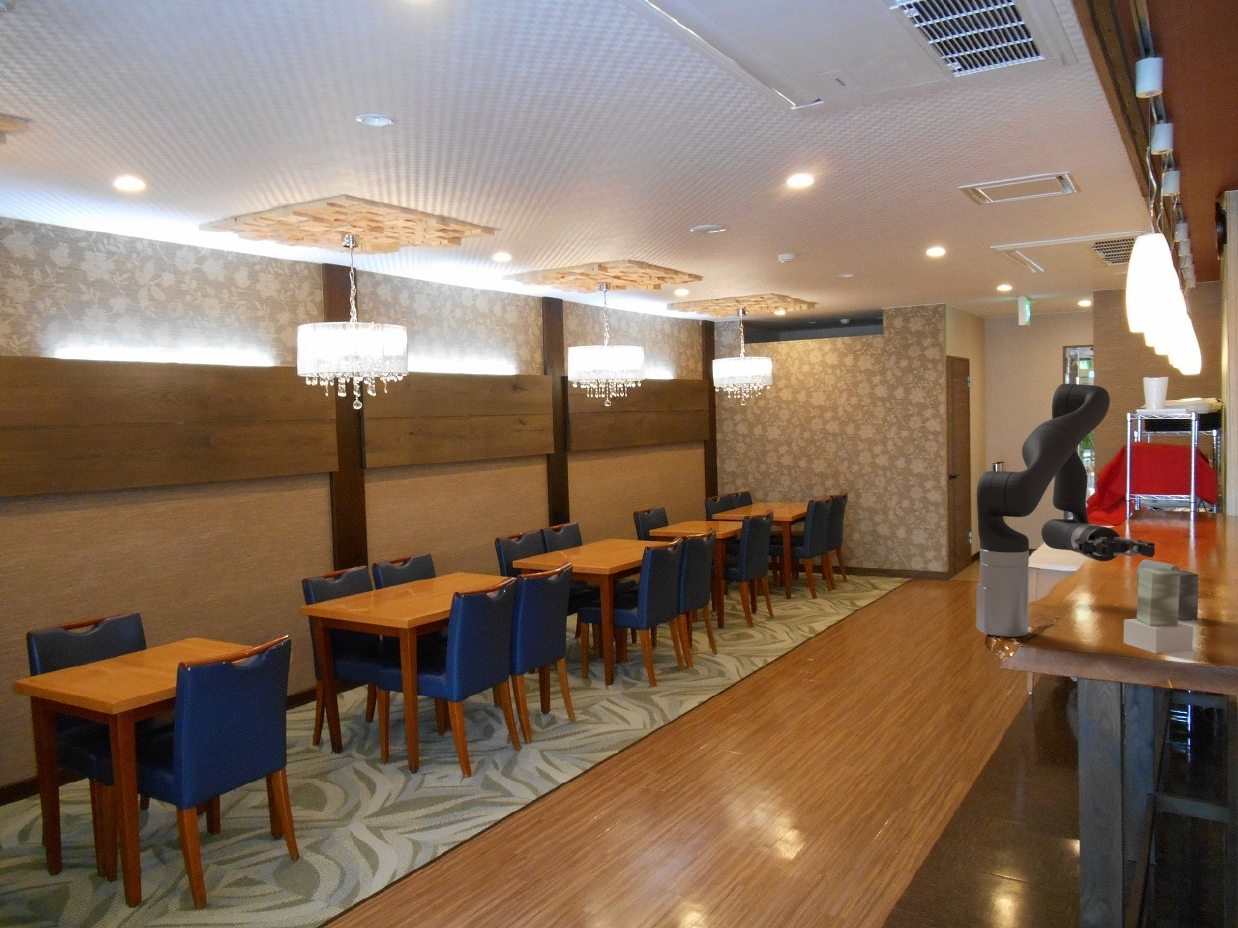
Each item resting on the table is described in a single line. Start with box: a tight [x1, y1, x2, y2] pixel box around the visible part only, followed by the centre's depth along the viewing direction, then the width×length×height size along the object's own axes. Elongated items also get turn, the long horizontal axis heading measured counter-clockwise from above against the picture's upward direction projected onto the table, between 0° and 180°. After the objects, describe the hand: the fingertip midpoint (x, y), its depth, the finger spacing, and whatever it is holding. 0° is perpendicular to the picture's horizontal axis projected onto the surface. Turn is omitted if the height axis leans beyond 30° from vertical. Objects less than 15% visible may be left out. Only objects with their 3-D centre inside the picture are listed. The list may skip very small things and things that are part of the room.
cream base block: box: [1123, 618, 1194, 654], centre depth 169 cm, size 8×8×5 cm
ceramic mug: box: [1136, 559, 1181, 586], centre depth 223 cm, size 11×8×8 cm
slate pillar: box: [1172, 569, 1199, 621], centre depth 193 cm, size 5×5×10 cm
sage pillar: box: [1136, 568, 1180, 626], centre depth 168 cm, size 5×5×10 cm
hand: (1129, 551), depth 179 cm, fingers open, 8 cm apart
